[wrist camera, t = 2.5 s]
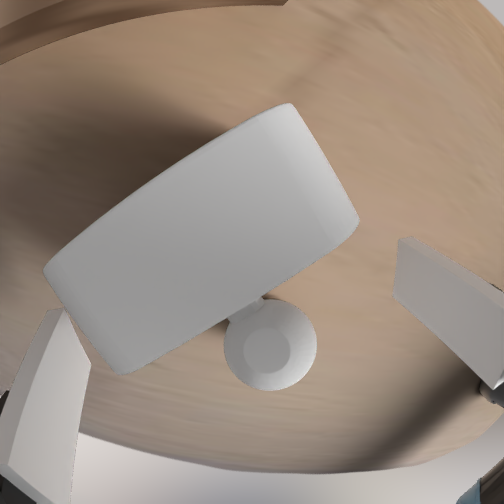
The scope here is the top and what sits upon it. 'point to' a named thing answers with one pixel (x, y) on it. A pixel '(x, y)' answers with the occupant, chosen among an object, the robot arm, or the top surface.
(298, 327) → the white knobbed block
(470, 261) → the top surface
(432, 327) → the robot arm
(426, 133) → the top surface
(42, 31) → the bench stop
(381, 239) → the top surface
